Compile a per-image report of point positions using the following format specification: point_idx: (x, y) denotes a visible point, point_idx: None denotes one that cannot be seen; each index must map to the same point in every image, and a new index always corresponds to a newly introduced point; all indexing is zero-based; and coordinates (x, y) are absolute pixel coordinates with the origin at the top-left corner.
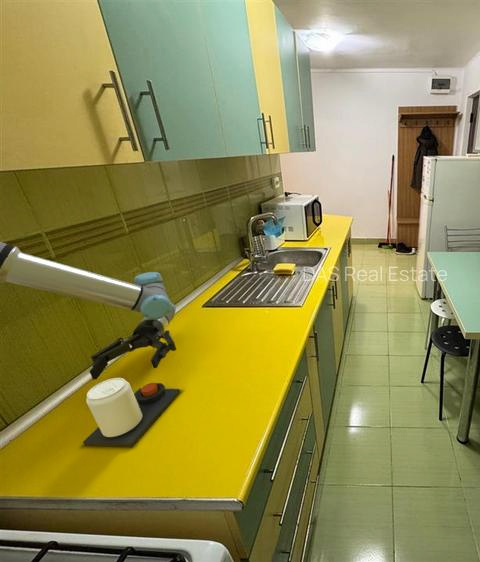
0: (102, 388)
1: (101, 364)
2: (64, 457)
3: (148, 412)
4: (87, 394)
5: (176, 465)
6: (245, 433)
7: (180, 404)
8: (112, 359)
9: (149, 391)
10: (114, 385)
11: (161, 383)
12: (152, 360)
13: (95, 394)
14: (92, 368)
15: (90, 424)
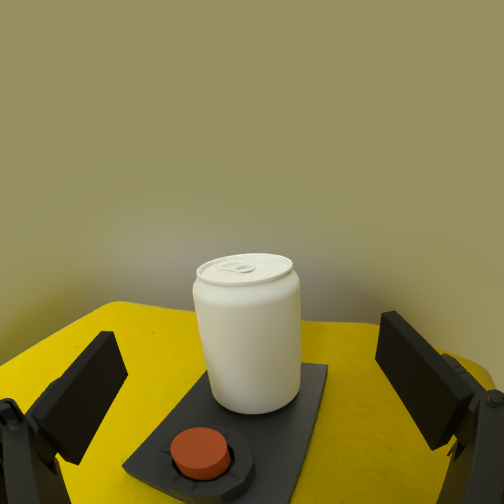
0: (260, 271)
1: (418, 378)
2: (346, 357)
3: (204, 410)
4: (285, 257)
5: (155, 327)
6: (71, 337)
7: (132, 427)
8: (443, 487)
9: (193, 429)
10: (228, 275)
11: (166, 484)
12: (107, 332)
13: (266, 262)
14: (402, 322)
15: (364, 416)
